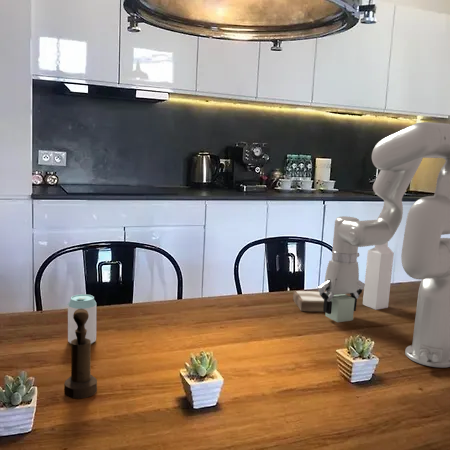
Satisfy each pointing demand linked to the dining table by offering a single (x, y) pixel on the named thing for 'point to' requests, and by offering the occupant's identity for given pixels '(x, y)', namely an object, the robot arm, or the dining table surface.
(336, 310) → the block
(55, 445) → the dining table surface
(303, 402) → the dining table surface
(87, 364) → the dark brown tall piece
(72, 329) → the can
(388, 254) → the milk
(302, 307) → the plinth
